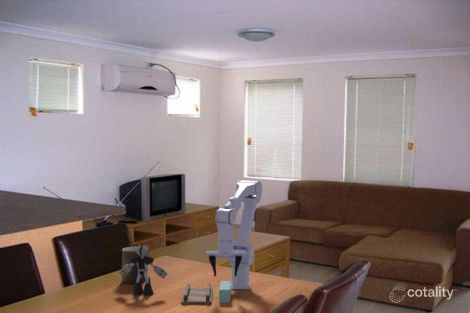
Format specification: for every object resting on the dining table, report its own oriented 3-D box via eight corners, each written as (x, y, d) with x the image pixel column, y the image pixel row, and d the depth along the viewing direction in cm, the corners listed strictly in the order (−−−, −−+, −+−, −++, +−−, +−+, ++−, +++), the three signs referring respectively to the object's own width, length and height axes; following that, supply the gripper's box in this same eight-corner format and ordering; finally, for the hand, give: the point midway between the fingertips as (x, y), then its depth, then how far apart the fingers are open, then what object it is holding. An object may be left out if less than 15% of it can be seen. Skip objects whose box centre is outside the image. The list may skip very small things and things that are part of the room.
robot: (117, 293, 195) (116, 242, 194) (122, 289, 199) (122, 240, 199) (164, 297, 191) (164, 245, 190) (169, 293, 195) (169, 242, 194)
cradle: (185, 290, 199) (185, 283, 199) (212, 290, 199) (213, 283, 199) (181, 304, 183) (181, 296, 183) (211, 304, 183) (211, 296, 183)
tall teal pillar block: (221, 292, 197) (221, 280, 197) (231, 292, 197) (231, 280, 197) (219, 303, 185) (219, 289, 185) (229, 303, 185) (230, 289, 185)
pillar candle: (142, 284, 207) (142, 248, 206) (119, 284, 207) (119, 247, 207) (147, 277, 217) (147, 243, 216) (124, 277, 217) (125, 243, 216)
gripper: (205, 242, 186) (205, 278, 186) (244, 242, 186) (244, 278, 186) (206, 238, 193) (206, 273, 193) (244, 238, 193) (244, 273, 193)
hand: (225, 275), depth 190 cm, fingers open, 7 cm apart
